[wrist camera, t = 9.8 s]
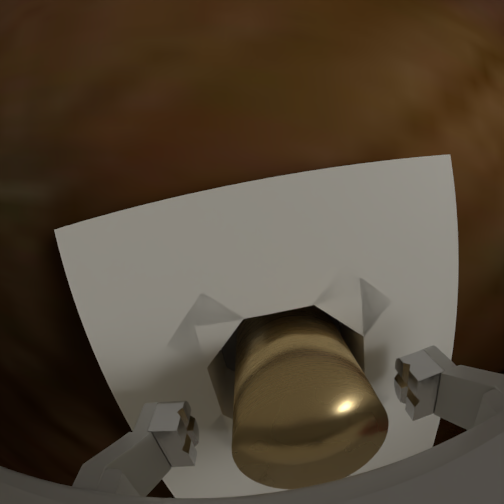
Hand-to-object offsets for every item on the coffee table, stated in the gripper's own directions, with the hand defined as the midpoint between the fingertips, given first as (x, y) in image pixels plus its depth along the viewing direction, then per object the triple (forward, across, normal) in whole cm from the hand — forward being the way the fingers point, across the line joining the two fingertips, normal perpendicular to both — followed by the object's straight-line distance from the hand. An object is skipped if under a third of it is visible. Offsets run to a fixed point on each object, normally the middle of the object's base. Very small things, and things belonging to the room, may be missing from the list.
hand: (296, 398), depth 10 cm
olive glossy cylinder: (+5, 0, 0) cm, 5 cm away
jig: (+6, 0, +4) cm, 7 cm away
